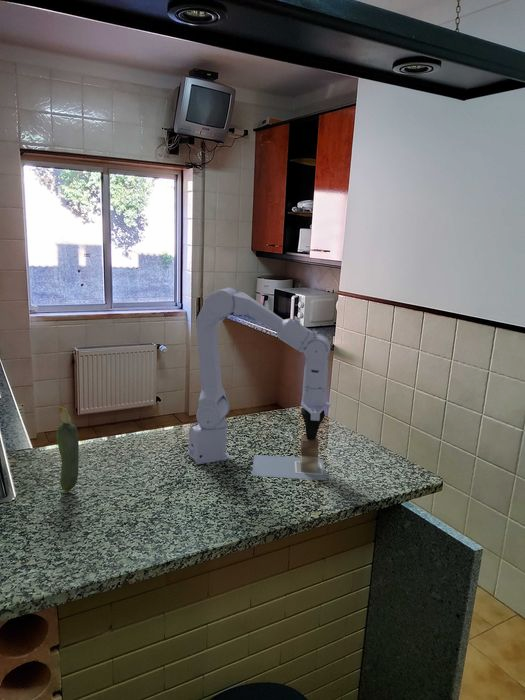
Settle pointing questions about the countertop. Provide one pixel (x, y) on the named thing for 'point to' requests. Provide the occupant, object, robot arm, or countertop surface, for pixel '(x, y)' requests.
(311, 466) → the maple block
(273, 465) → the board
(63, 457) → the vegetable
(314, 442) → the walnut block
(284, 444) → the countertop surface
